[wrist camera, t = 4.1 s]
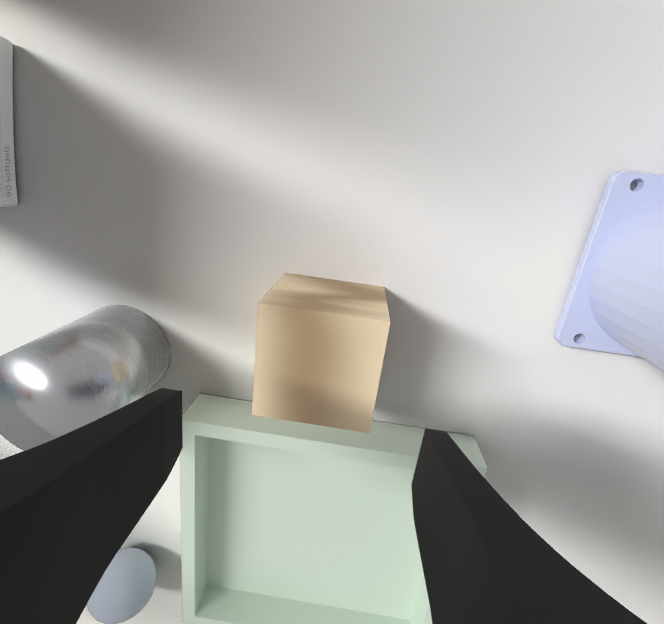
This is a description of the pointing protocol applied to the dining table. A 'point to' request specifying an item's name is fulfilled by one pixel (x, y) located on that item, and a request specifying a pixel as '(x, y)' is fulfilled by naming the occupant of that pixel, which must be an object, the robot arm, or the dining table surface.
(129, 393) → the grey can
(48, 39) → the dining table surface
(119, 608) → the rubber ball
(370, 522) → the sage tray
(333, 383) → the maple block
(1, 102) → the supplement box
